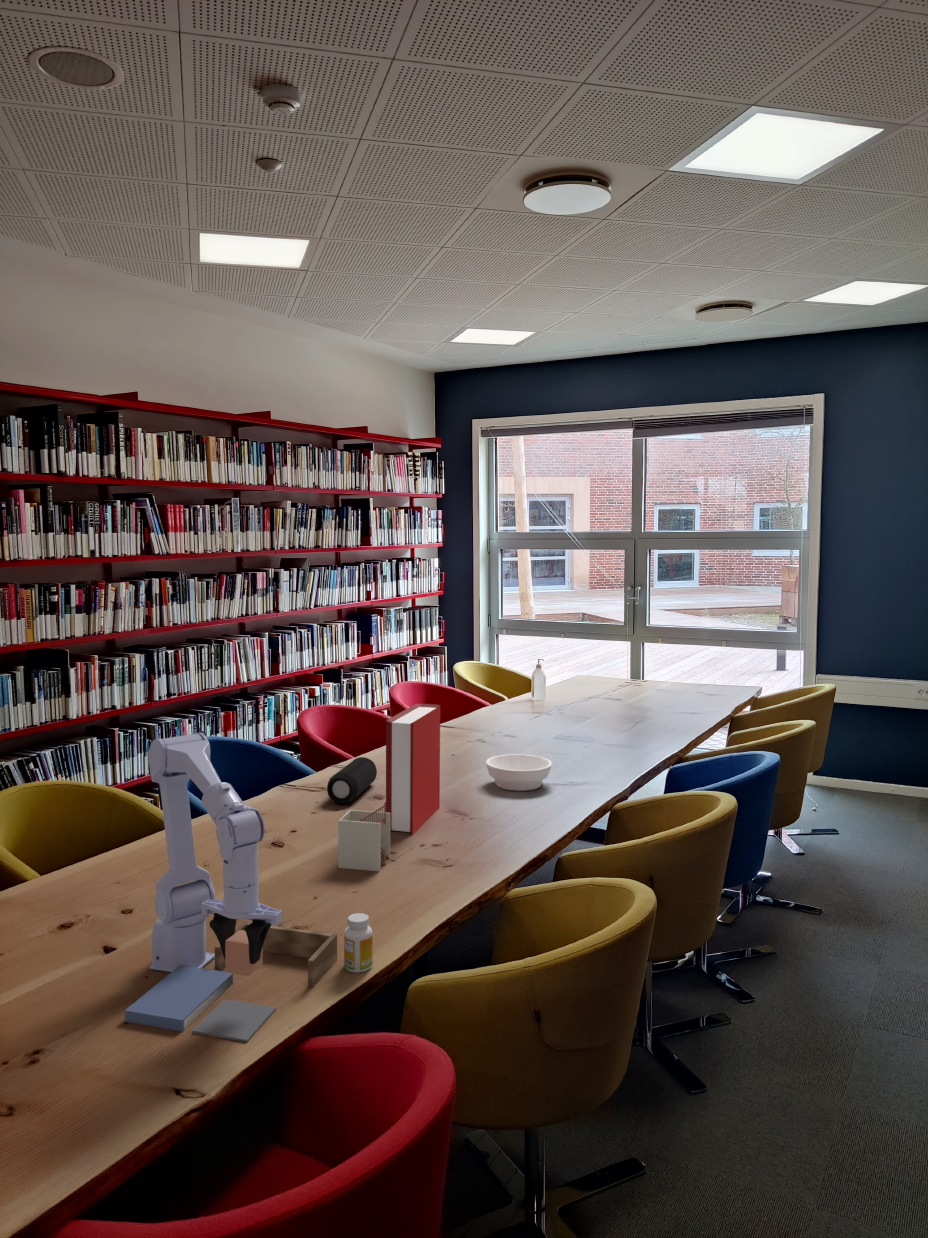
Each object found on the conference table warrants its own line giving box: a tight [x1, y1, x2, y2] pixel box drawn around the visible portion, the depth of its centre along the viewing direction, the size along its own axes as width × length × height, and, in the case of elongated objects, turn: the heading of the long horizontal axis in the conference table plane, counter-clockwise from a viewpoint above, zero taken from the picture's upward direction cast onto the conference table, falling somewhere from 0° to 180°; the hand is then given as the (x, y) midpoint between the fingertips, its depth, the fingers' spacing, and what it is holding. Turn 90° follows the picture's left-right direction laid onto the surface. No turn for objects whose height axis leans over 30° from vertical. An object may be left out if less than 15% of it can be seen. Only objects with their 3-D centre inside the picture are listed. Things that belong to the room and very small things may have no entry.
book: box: [385, 703, 441, 836], centre depth 247 cm, size 27×8×32 cm, turn 165°
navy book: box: [124, 965, 234, 1032], centre depth 147 cm, size 16×11×2 cm
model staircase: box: [337, 801, 391, 872], centre depth 212 cm, size 9×11×17 cm
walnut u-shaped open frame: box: [214, 921, 338, 988], centre depth 160 cm, size 20×11×5 cm, turn 75°
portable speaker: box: [326, 756, 378, 805], centre depth 272 cm, size 26×10×10 cm, turn 169°
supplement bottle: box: [343, 912, 374, 974], centre depth 160 cm, size 5×5×10 cm
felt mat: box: [191, 998, 277, 1043], centre depth 141 cm, size 10×10×1 cm
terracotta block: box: [224, 930, 264, 977], centre depth 144 cm, size 4×4×6 cm
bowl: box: [485, 753, 553, 792], centre depth 284 cm, size 22×22×8 cm
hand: (242, 959), depth 143 cm, fingers closed on terracotta block, 4 cm apart
